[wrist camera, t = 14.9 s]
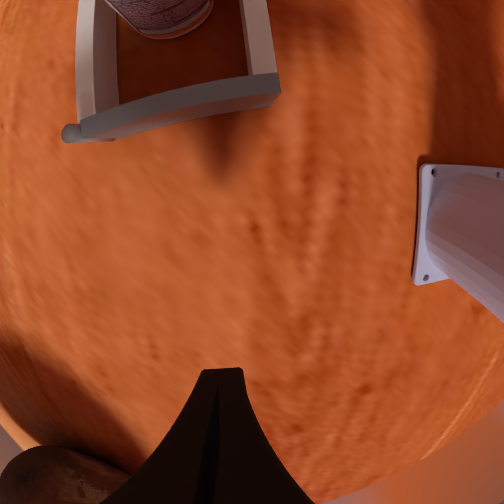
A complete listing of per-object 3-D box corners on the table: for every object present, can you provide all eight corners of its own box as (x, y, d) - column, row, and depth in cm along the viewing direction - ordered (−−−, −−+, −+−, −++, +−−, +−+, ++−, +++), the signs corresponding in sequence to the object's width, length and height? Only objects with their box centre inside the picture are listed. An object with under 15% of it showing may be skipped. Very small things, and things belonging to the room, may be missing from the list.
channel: (247, -53, 9) (249, -80, 6) (270, 94, 13) (278, 81, 10) (104, -23, 9) (86, -42, 6) (105, 124, 13) (78, 122, 10)
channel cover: (107, 143, 13) (62, 145, 9) (104, 129, 13) (60, 127, 9) (269, 107, 13) (282, 91, 9) (266, 92, 13) (278, 70, 8)
